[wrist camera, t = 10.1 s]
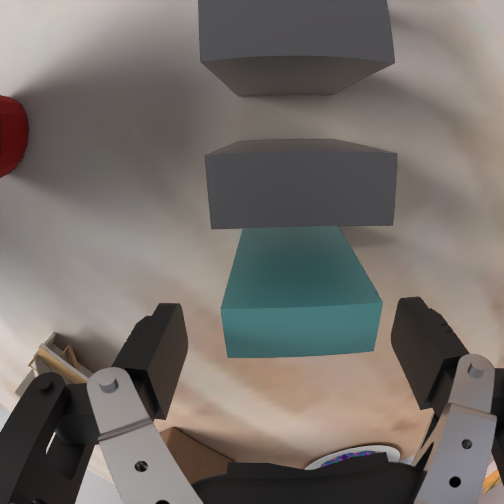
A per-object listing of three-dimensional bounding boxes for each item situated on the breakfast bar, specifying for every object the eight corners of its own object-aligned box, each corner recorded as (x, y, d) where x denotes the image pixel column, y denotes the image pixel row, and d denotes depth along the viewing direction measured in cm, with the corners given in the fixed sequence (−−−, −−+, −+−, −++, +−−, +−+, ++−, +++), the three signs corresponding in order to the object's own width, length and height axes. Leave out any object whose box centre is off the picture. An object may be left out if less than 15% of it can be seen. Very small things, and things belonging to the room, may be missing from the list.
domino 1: (332, 94, 14) (394, 63, 6) (238, 96, 15) (200, 61, 7) (329, 60, 14) (386, 0, 5) (236, 62, 14) (198, -2, 6)
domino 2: (333, 175, 16) (392, 225, 8) (242, 177, 17) (211, 229, 8) (333, 139, 15) (396, 153, 7) (240, 141, 16) (204, 155, 7)
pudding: (394, 427, 25) (405, 467, 20) (402, 465, 29) (409, 496, 24) (286, 458, 28) (286, 498, 23) (316, 490, 32) (318, 521, 27)
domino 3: (331, 250, 18) (373, 350, 10) (247, 253, 18) (227, 357, 10) (332, 218, 17) (382, 302, 9) (245, 221, 18) (220, 308, 9)
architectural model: (59, 318, 22) (13, 373, 15) (123, 365, 24) (90, 429, 17) (53, 340, 23) (12, 391, 17) (112, 382, 25) (81, 442, 18)
